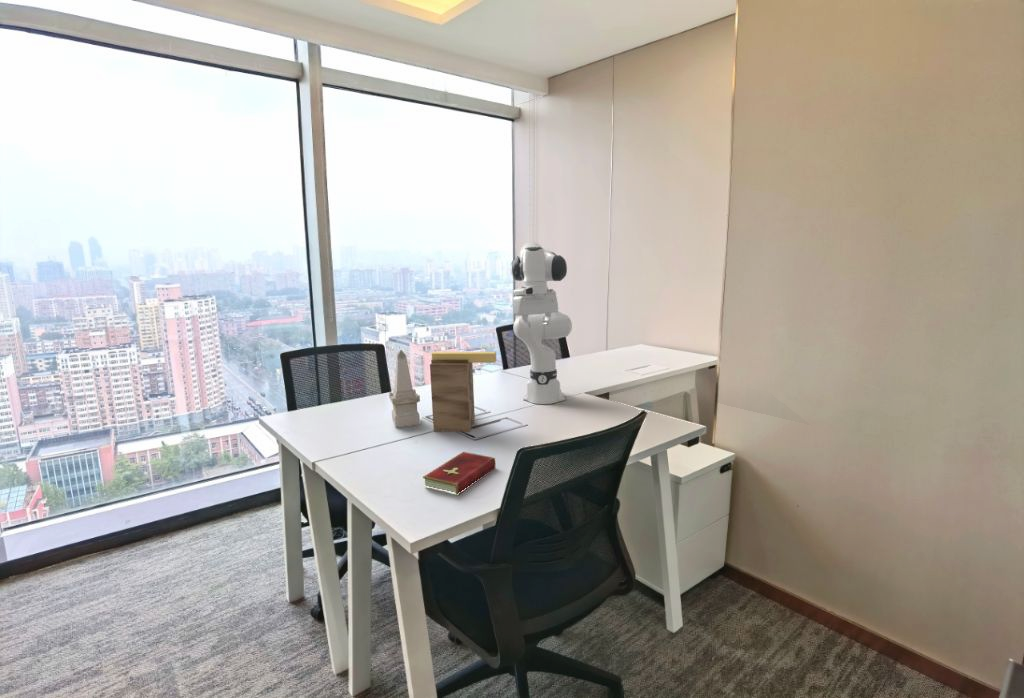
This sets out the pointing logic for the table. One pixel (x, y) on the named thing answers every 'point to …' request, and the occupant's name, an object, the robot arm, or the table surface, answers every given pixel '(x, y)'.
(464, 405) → the stand
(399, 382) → the miniature monument
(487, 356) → the yellow wooden bar
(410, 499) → the table surface
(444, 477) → the hardcover book
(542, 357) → the robot arm
